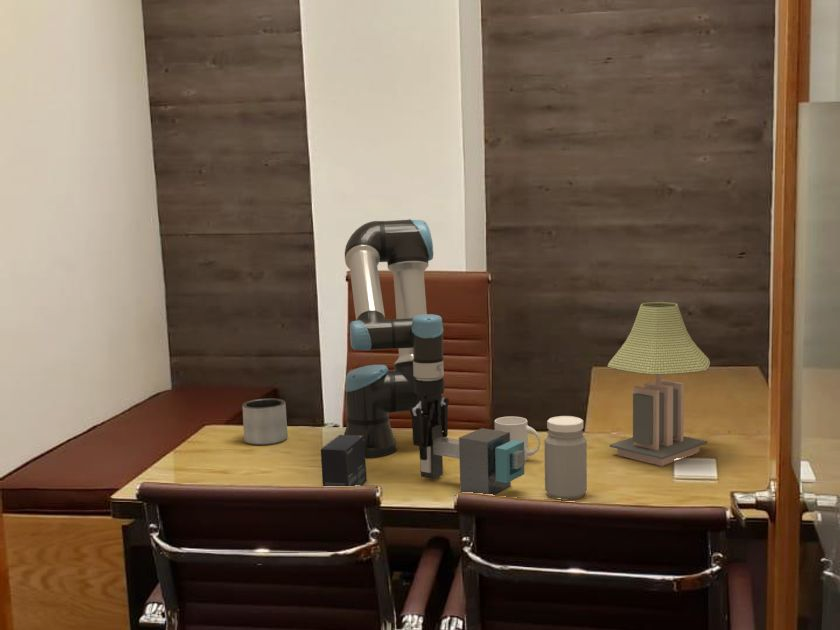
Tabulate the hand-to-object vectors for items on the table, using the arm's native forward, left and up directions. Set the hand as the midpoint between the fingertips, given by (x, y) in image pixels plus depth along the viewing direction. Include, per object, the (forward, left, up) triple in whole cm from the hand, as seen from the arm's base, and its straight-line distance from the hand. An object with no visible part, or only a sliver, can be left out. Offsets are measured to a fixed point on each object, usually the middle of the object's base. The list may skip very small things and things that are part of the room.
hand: (431, 469), depth 256 cm
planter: (-63, +5, -3) cm, 63 cm away
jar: (+34, +7, -3) cm, 35 cm away
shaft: (+12, 0, -2) cm, 12 cm away
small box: (-14, -17, -3) cm, 22 cm away
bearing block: (+16, 0, -3) cm, 16 cm away
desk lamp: (+39, +49, -3) cm, 63 cm away
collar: (+23, 0, +6) cm, 24 cm away
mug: (+10, +25, -3) cm, 27 cm away
